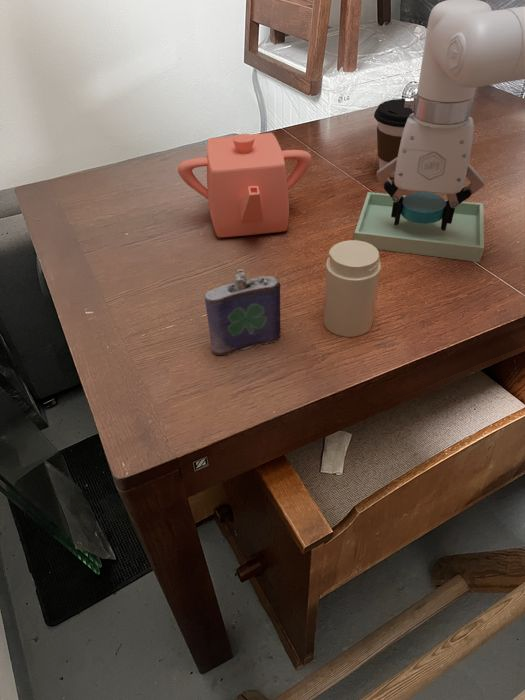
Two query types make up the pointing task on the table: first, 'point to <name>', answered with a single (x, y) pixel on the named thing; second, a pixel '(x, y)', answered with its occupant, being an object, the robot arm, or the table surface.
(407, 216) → the lid
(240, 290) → the flask
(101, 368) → the table surface
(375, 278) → the jar
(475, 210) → the tray
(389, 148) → the coffee cup
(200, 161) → the teapot
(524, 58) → the robot arm
